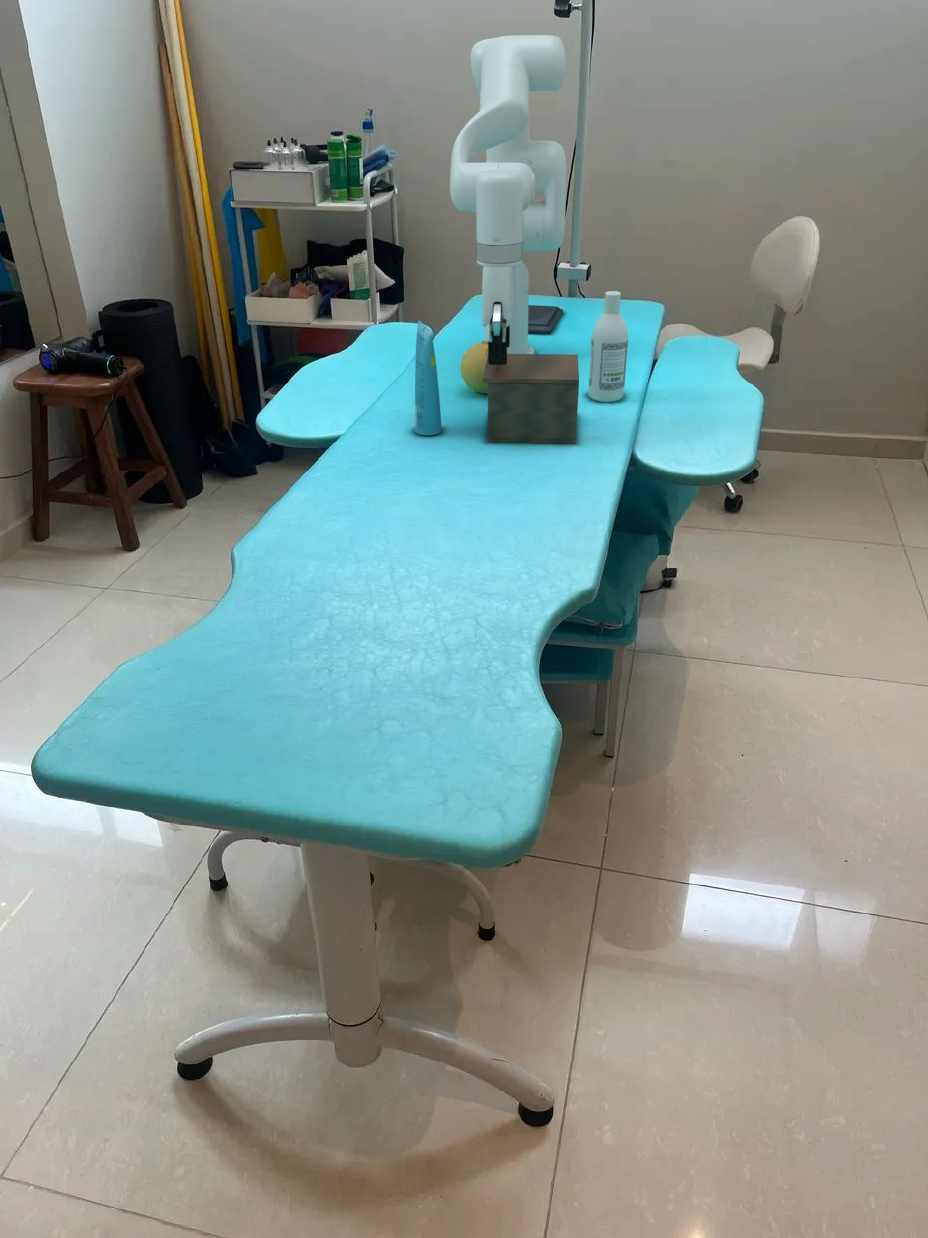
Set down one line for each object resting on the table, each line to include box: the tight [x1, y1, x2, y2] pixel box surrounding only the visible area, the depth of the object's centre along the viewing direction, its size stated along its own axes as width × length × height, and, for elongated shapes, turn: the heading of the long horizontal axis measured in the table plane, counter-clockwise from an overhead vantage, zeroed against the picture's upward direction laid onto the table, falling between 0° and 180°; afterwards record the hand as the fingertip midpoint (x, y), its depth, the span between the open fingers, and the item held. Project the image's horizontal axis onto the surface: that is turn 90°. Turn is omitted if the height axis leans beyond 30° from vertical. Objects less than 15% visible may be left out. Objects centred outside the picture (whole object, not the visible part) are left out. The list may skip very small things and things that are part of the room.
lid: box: [483, 353, 580, 385], centre depth 161 cm, size 16×14×6 cm
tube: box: [414, 319, 442, 436], centre depth 163 cm, size 7×5×19 cm, turn 26°
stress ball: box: [460, 340, 488, 394], centre depth 182 cm, size 10×10×10 cm
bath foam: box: [587, 290, 629, 403], centre depth 176 cm, size 7×7×20 cm
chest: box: [487, 383, 580, 445], centre depth 165 cm, size 16×14×11 cm
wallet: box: [528, 304, 564, 335], centre depth 225 cm, size 20×2×15 cm
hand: (499, 355), depth 161 cm, fingers open, 9 cm apart
